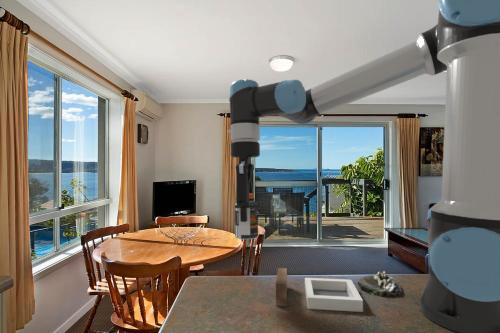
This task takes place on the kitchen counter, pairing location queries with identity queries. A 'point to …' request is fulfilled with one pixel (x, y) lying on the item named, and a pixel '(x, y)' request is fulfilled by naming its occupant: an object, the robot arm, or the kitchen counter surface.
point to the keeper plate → (332, 295)
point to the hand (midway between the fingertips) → (246, 231)
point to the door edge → (281, 287)
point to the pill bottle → (253, 220)
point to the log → (380, 285)
